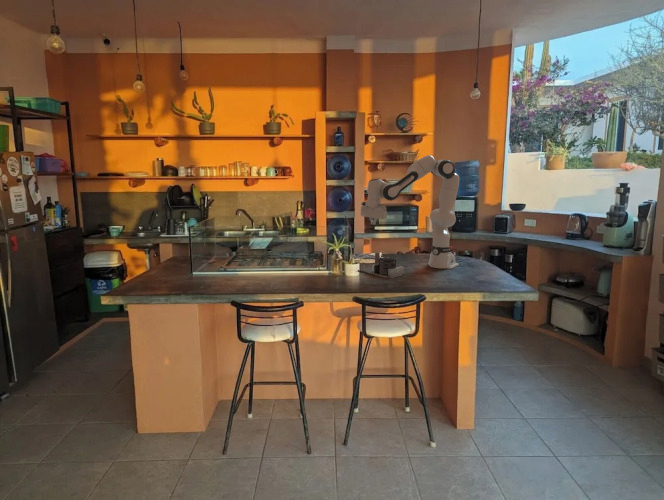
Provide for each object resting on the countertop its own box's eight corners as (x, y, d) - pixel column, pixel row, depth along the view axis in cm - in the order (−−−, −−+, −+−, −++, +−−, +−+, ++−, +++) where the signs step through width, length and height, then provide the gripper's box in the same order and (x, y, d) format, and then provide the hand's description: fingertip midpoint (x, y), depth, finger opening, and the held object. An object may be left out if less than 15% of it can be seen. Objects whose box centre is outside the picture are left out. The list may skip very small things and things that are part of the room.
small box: (395, 273, 285) (395, 257, 283) (395, 276, 278) (396, 259, 276) (378, 272, 286) (379, 257, 283) (378, 275, 279) (379, 259, 277)
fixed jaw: (374, 267, 300) (374, 259, 299) (404, 274, 282) (405, 266, 281) (357, 271, 289) (357, 262, 288) (388, 279, 271) (388, 270, 270)
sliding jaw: (381, 269, 293) (382, 251, 290) (386, 270, 290) (387, 252, 288) (369, 272, 285) (369, 253, 282) (374, 273, 282) (374, 254, 279)
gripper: (389, 204, 286) (388, 225, 289) (365, 202, 301) (365, 222, 304) (382, 205, 282) (382, 226, 285) (359, 202, 297) (358, 223, 300)
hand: (373, 224), depth 295 cm, fingers closed
